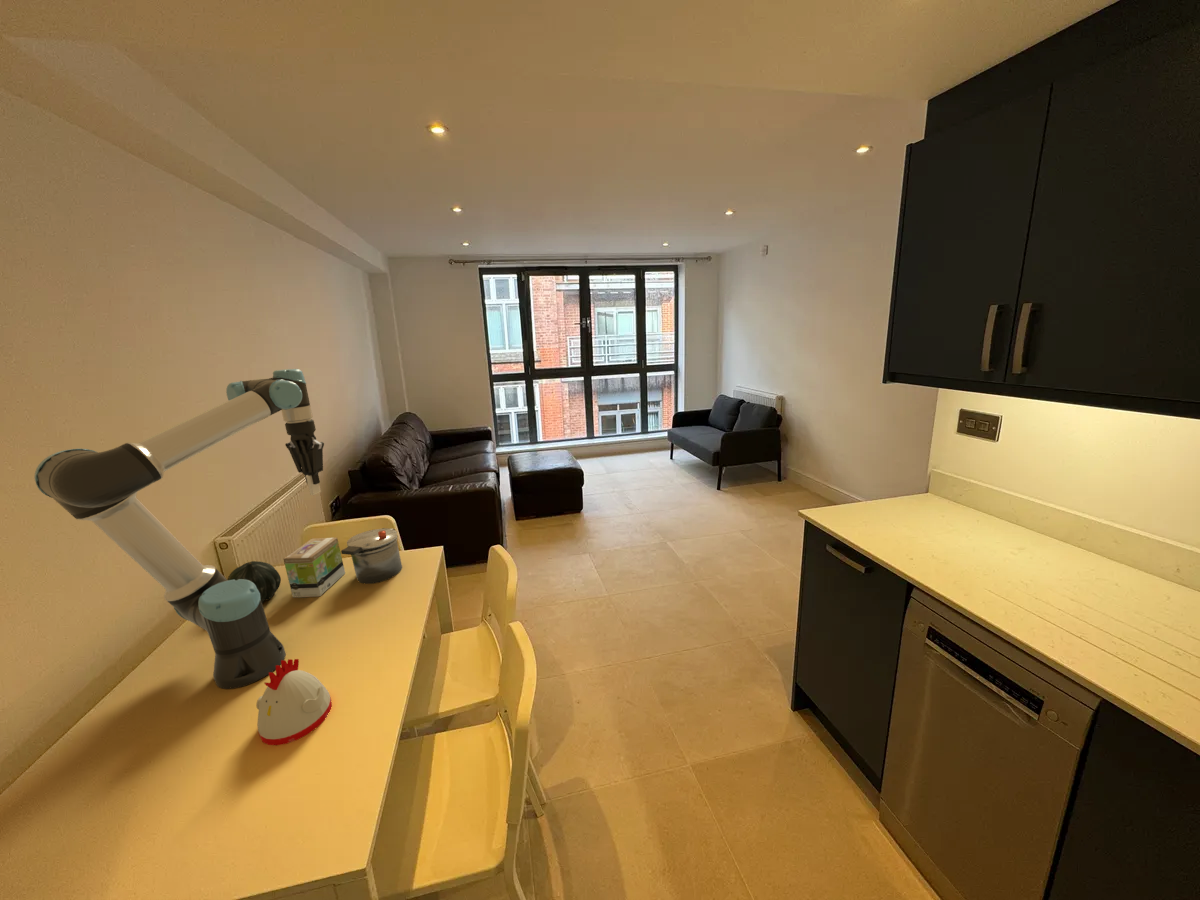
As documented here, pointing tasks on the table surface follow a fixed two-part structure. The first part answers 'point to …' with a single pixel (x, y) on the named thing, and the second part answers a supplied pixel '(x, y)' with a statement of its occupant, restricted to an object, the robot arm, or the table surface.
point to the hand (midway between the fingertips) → (315, 493)
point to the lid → (369, 540)
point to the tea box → (314, 567)
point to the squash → (259, 577)
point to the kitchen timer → (291, 704)
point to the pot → (377, 563)
